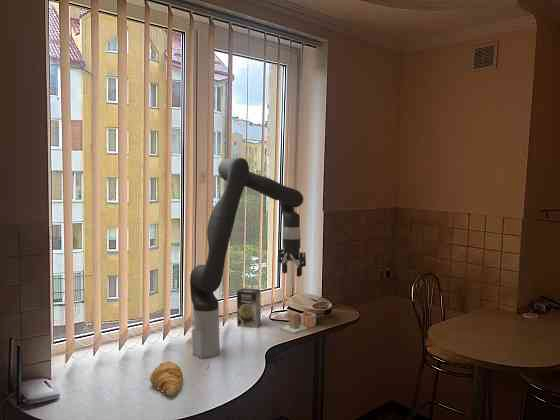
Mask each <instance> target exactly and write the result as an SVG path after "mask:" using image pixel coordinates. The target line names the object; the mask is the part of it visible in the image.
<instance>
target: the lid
mask: <svg viewBox="0 0 560 420" xmlns="http://www.w3.org/2000/svg"><path fill="white" fill-rule="evenodd" d="M281 329H282V330H281V331H283V330H285V331H284V332H286V331H288V332H287V333H289V332H291V333H294V334H293V335H296V334H295V333H297V334H299V333H298V332H300V333H302V332H301V331H303V330H306V329H308V327H304V326H301V324H300V313H298V312H295V311H293V312H290V313H289V314H288V325H285V326H283V327H281ZM306 331H307V330H306ZM303 332H304V331H303ZM291 333H290V334H291Z"/></svg>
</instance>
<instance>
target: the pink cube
mask: <svg viewBox="0 0 560 420" xmlns="http://www.w3.org/2000/svg"><path fill="white" fill-rule="evenodd" d="M316 321H317V315H316V313H314V312H308V311H307V312H306V311H305V312H302V313H300V325H301V326H304V327H307V328H312V327H313V328H314V327H315V326H316V325H317V324H316V323H317V322H316Z"/></svg>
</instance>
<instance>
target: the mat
mask: <svg viewBox="0 0 560 420" xmlns="http://www.w3.org/2000/svg"><path fill="white" fill-rule="evenodd" d="M308 330H309V328H307V329H306V330H303V331H301V332H298V333H295V334H294V333H291V332H288V331H285V330H282V328H280V331H283V332H286V333H288V334H292V335H297V334H300V333H302V332H305V331H308Z"/></svg>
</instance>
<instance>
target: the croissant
mask: <svg viewBox="0 0 560 420" xmlns="http://www.w3.org/2000/svg"><path fill="white" fill-rule="evenodd" d="M149 381H150V383H151V384H152V385H153V387H154V386H155V387H157V388H159V389H160V390H159V389H158V390H159V391H160V392H161V391H163V392H162V393H164V392H166V393H165V395H166V394H167V396H168V395H169V396H168V397H172V396H175V395H176V393H178V392H179V391H180V389H181V388H182V385H183V384H184V376H183V371H182V369H181V368H180V366H179V365H178V364H177V363H175V362H172V361H167V362H160V364H159V365H158V366H157V367H155V368H154V370H153V371H152V373H151V374H150V376H149ZM155 387H154V388H155ZM157 388H156V389H157ZM177 391H178V392H177Z"/></svg>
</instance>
